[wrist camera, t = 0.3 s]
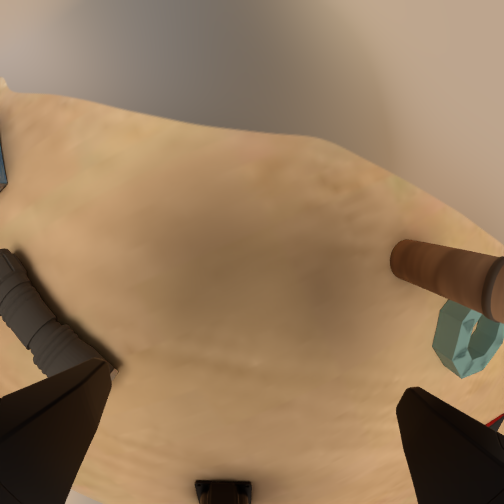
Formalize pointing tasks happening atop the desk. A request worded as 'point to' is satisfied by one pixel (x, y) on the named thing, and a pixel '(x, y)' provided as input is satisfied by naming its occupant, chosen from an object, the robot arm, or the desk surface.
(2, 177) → the label tape cartridge
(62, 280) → the desk surface
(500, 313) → the banded wooden post
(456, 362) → the green faceted ring
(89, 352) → the flashlight
